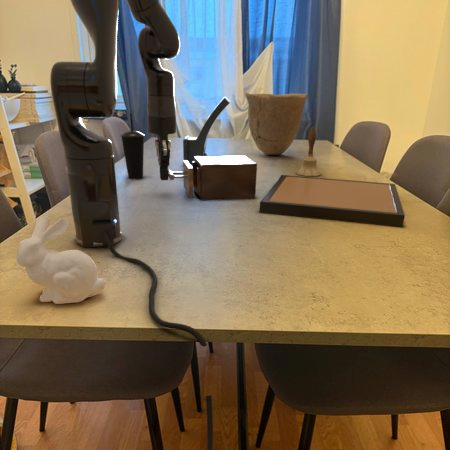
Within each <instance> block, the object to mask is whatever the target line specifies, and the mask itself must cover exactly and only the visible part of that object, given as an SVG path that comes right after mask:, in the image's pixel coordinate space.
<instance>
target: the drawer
mask: <svg viewBox="0 0 450 450" xmlns="http://www.w3.org/2000/svg"><path fill="white" fill-rule="evenodd" d="M182 168H183V169H182V171H172V170H171V169H168V180H170V181H174V180H175V179H183V183H182V184H183V189H184V190H185V192H186V194H187V195H188V197H189V198H193V197H194V191H195V192H196V194H197V195H198V196H199V195H201V167H200V166H199V164H198V163H197V162H192V165H190V164H189V162H188V161H187V160H184V159H182Z"/></svg>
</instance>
